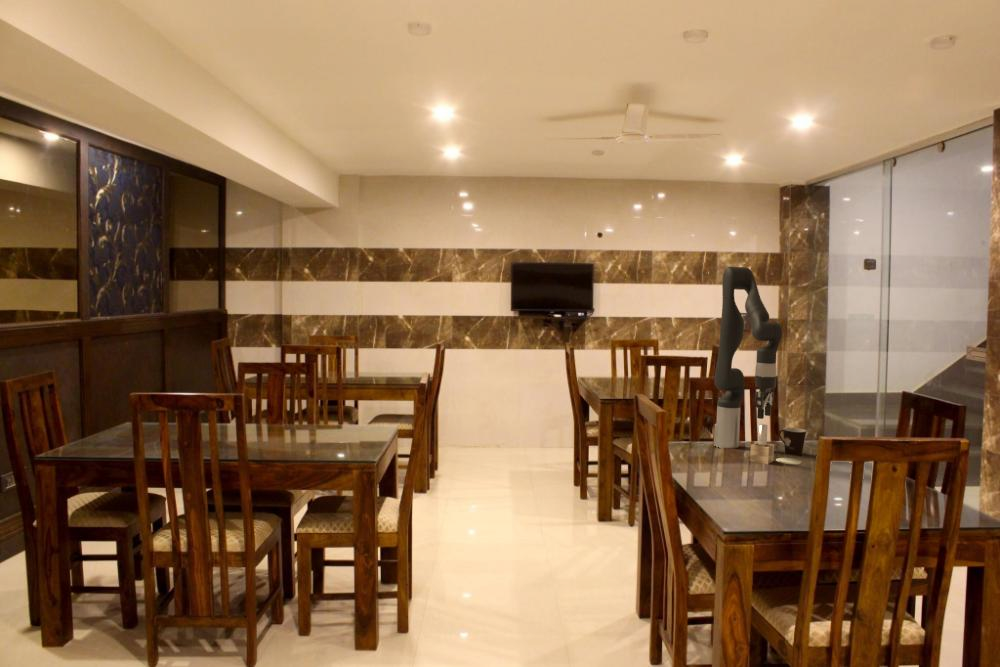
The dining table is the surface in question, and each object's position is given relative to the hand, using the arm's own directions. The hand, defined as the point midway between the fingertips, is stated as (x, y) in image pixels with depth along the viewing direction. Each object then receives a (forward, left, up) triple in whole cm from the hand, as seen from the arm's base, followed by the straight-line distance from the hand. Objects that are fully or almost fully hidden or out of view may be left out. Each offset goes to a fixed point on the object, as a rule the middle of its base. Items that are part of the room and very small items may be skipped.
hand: (764, 417), depth 274 cm
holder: (0, 0, -18) cm, 18 cm away
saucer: (+8, +7, -18) cm, 21 cm away
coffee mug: (+4, +25, -18) cm, 31 cm away
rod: (0, 0, -17) cm, 17 cm away
